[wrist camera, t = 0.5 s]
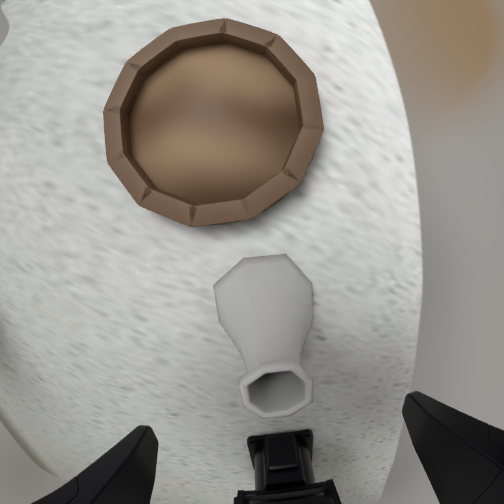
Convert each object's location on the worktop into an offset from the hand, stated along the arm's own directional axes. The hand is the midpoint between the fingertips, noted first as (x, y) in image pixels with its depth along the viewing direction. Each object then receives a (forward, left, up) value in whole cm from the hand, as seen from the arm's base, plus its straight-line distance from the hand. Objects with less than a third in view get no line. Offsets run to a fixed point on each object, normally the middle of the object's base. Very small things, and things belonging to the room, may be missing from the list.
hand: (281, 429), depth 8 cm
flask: (-1, 0, -13) cm, 13 cm away
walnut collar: (+12, +2, -13) cm, 18 cm away
